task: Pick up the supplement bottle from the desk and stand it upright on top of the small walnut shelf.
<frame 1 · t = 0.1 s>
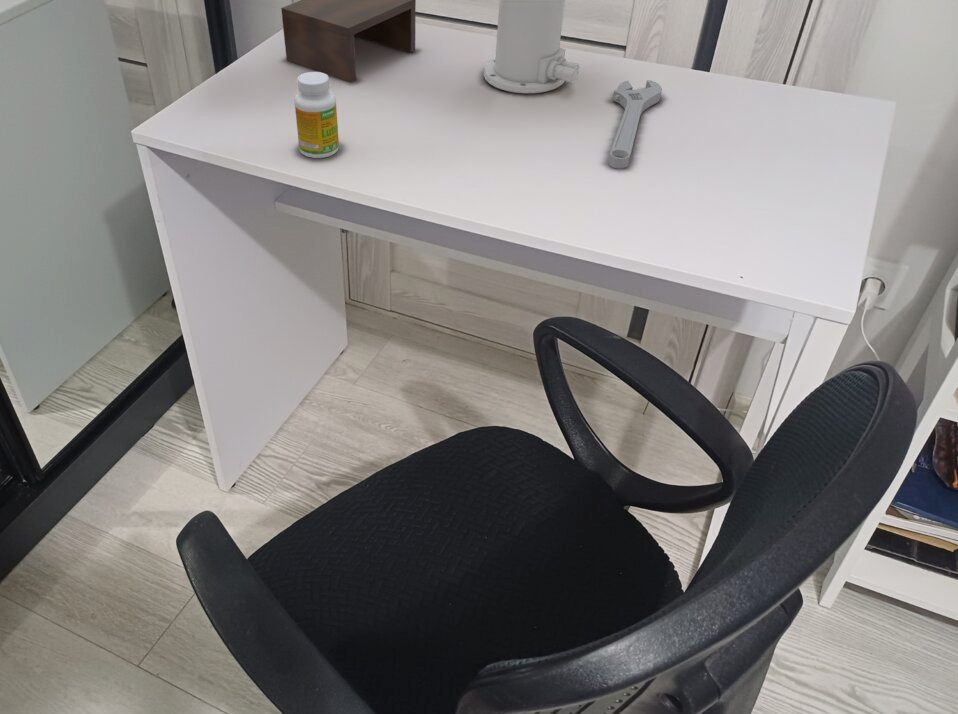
supplement bottle: (319, 151, 111), on the table
adjustable wrench: (624, 126, 115), on the table
shelf: (351, 55, 134), on the table
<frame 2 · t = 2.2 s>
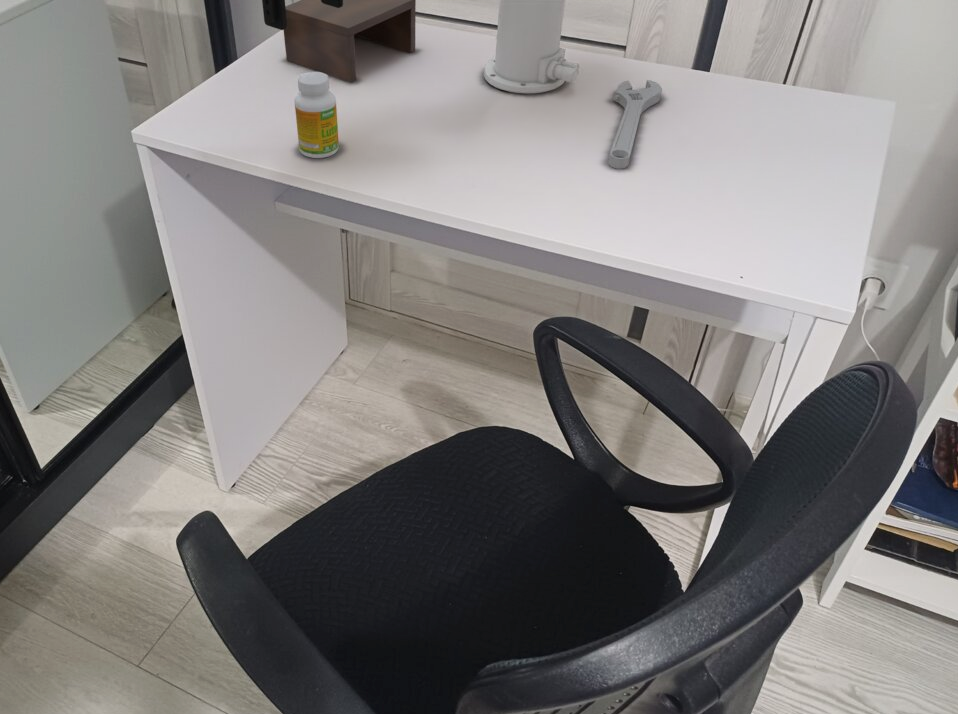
hand: (304, 15, 99), 17 cm above the table, tool pointing down, fingers open, 9 cm apart
nothing on the table moved.
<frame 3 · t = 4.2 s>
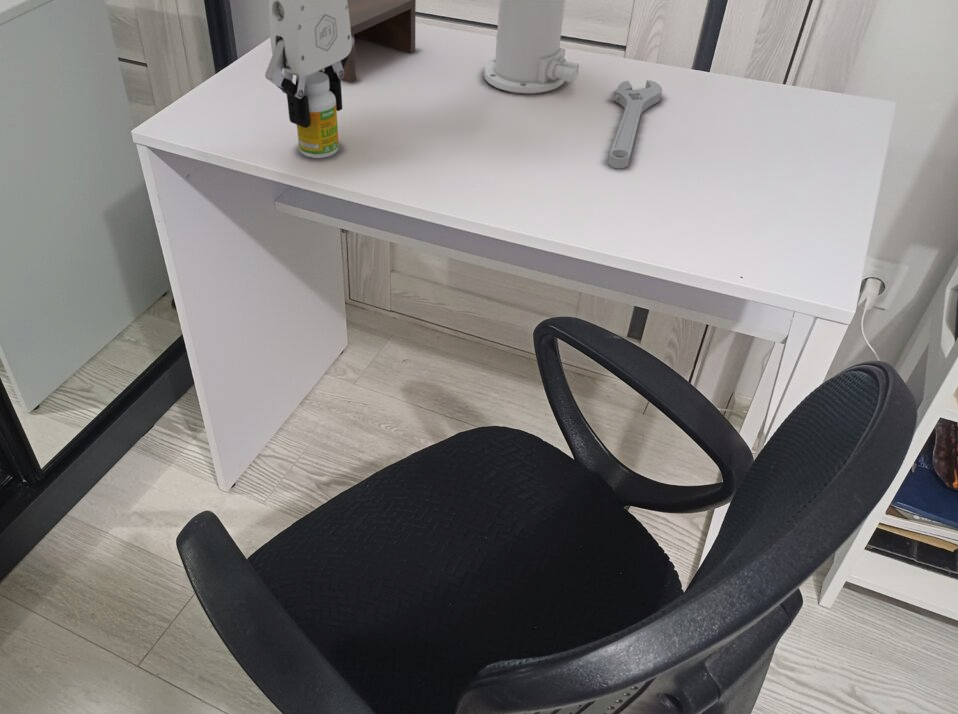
hand: (316, 114, 108), 5 cm above the table, tool pointing down, fingers closed on supplement bottle, 5 cm apart
supplement bottle: (319, 151, 111), on the table, touching gripper
everything else where it was.
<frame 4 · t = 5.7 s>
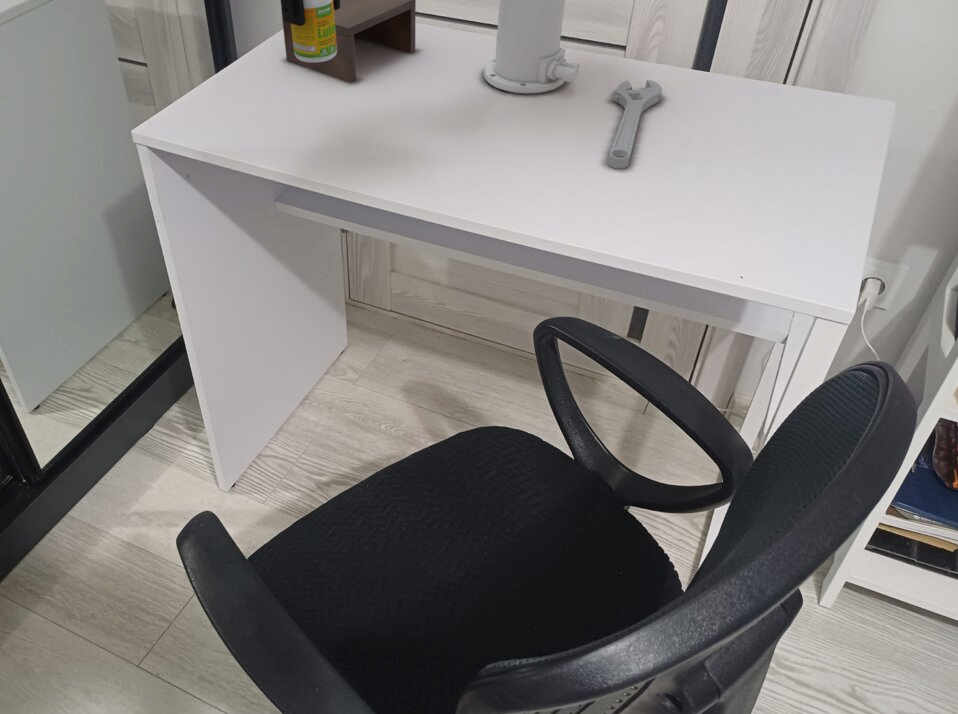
hand: (311, 13, 99), 17 cm above the table, tool pointing down, fingers closed on supplement bottle, 5 cm apart
supplement bottle: (316, 56, 103), point 12 cm above the table, touching gripper
everything else where it was.
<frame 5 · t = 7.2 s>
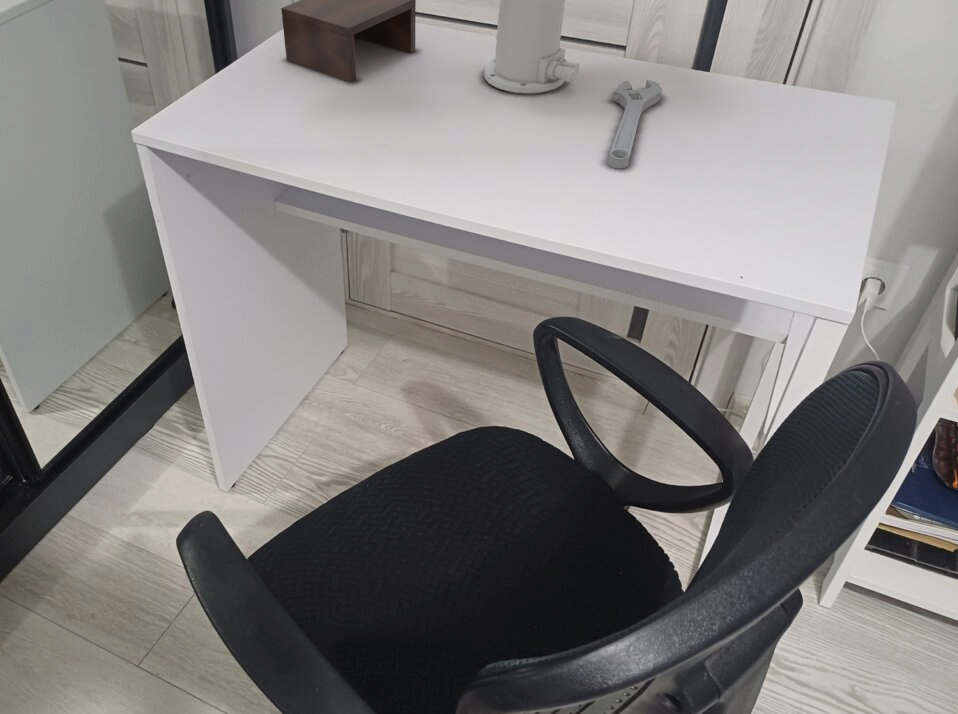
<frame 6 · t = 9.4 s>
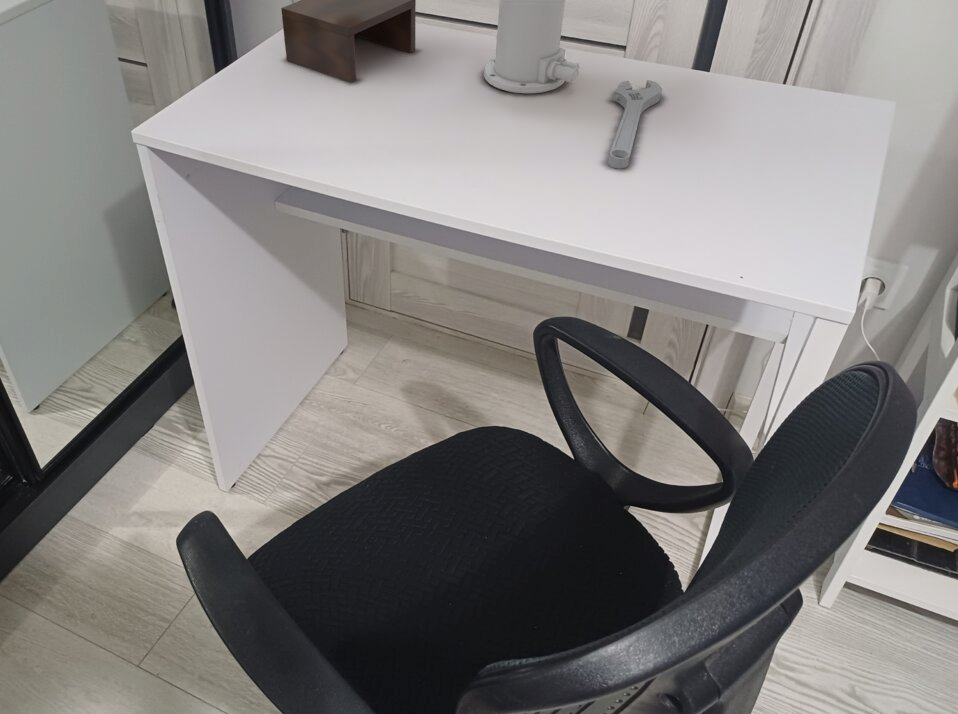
when the fingers open (13 cm above the table, at t = 10.7 s): supplement bottle stays where it is, resting on shelf.
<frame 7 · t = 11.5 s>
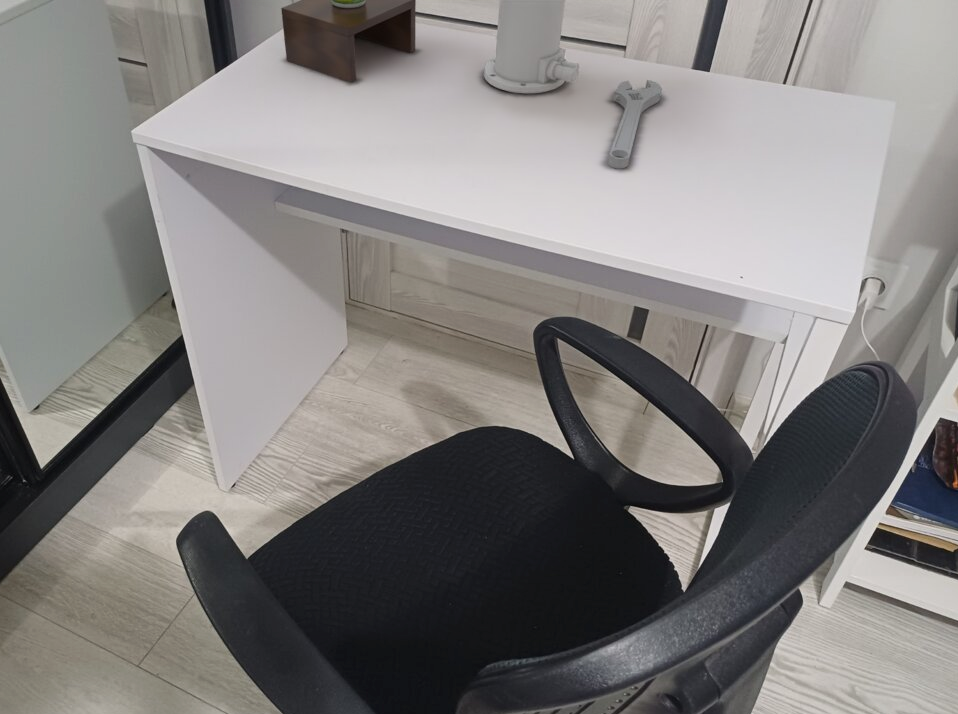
supplement bottle: (348, 4, 128), point 8 cm above the table, touching shelf
everything else where it was.
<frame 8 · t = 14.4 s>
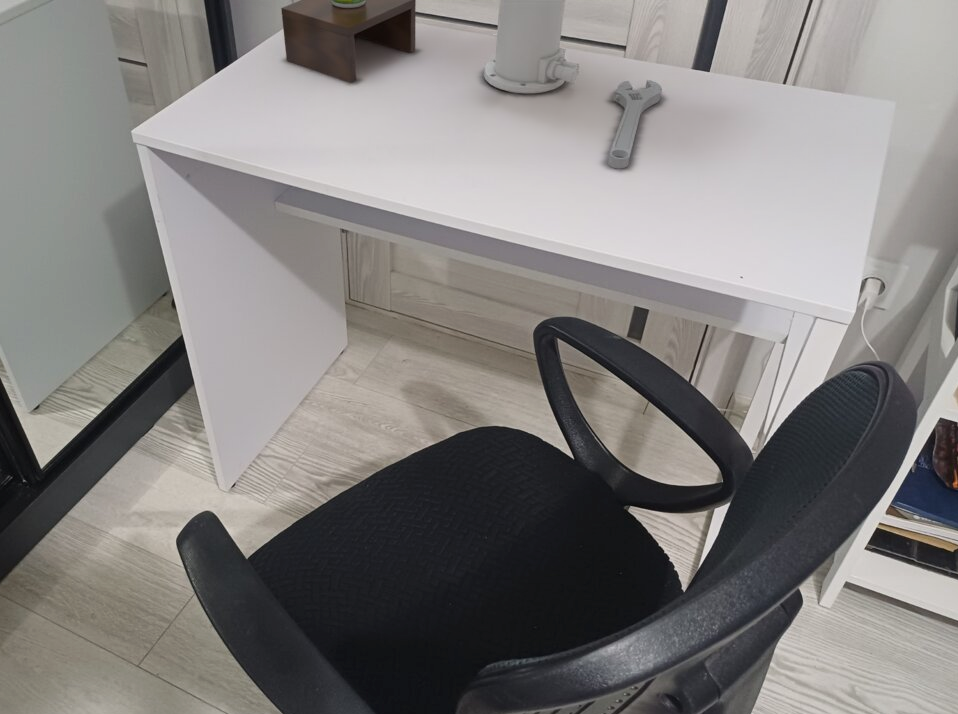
nothing on the table moved.
at the end: supplement bottle inside the target area on the shelf (0.0 cm from its centre), point 7.8 cm above the shelf's base; supplement bottle tilted 0°; the gripper is holding nothing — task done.
